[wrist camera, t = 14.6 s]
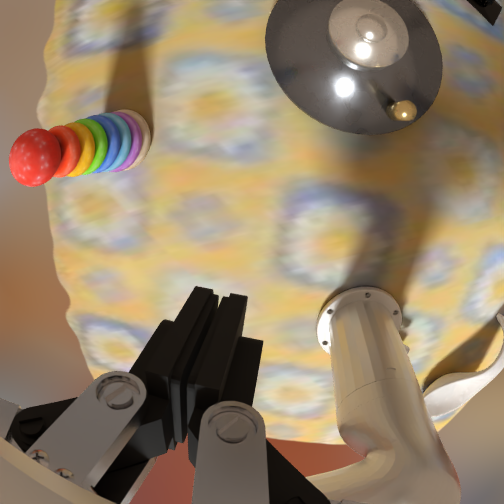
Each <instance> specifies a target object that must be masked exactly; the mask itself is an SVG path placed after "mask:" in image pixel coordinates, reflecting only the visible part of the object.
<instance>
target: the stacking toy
mask: <svg viewBox="0 0 504 504" xmlns="http://www.w3.org/2000/svg"><path fill="white" fill-rule="evenodd" d="M150 141H151V136H150V130H149V127H148V124H147V123H146V121H145V119H144V118H143V117H142V116H141V115H140V114H138V113H137V112H135V111H132V110H128V109H121V110H117V111H114V112H111V113H102V114H99V115H93V116H90V117H88V118H86V119H80V120H77V121H75V122H74V123H69V124H66V125H65V126H55V127H53V128H51V129H50V130H49V131H47V130H45V129H32V130H28V131H27V132H25V133H23V134H22V135H20V136H19V137H18V138H17V140H16V141H15V143H14V144H13V146H12V149H11V152H10V156H9V165H10V170H11V173H12V175H13V176H14V178H15V179H16V180H17V181H18V182H19V183H21V184H23V185H25V186H39V185H42V184H44V183H46V182H47V181H49V180H50V179H51V178H52V177H64V176H70V177H75V176H79V175H86V174H90V173H99V172H108V171H109V172H119V171H124V170H129V169H132V168H134V167H136V166H137V165H139V164H140V163H141V162H142V161H143V160H144V158H145V157H146V155H147V153H148V150H149V147H150Z"/></svg>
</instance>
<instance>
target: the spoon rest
mask: <svg viewBox="0 0 504 504" xmlns="http://www.w3.org/2000/svg"><path fill="white" fill-rule="evenodd" d="M497 320H498V322H499V323H500V325H501V327H502V330H503V334H504V316H503V315H501V314H499V313H498V314H497ZM503 368H504V340H503V345H502V348H501V351H500V353H499V355H498V356H497V358H496V360H495V361H494V362H493V363H492V364H491V365H490V366H489V367H488V368H486V369H484V370H482V371H478V372H457V373H449V374H446V375H443V376H441V377H440V378H438V379H437V380H436V381H434V382H433V383H432V384H431V385H430V386H429V387H428V388H427V389H426V390H425V392H424V393H423V397H424V400H425V403H426V405H427V408H428V411H429V413H430V416H431V417H436V416H441V415H444V414H447V413H449V412H451V411H453V410H455V409H457V408H459V407H460V406H462V405H463V404H464V403H466V402H467V401H468V400H469V399H471V398H472V397H473V396H474V395H475V394H476V393H477V392H479V391H480V390H481V389H482V388H483V387H485V386H486V385H487V384H488V383H489V382H490V381H491V380H492V379H494V377H496V376H497V374H499V372H500V371H501V370H502V369H503Z"/></svg>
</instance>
